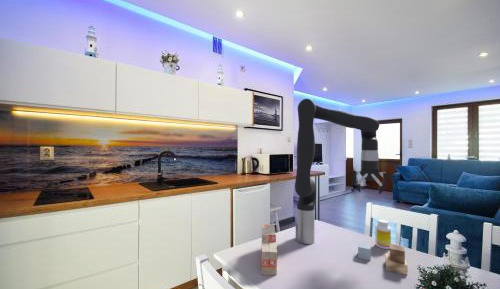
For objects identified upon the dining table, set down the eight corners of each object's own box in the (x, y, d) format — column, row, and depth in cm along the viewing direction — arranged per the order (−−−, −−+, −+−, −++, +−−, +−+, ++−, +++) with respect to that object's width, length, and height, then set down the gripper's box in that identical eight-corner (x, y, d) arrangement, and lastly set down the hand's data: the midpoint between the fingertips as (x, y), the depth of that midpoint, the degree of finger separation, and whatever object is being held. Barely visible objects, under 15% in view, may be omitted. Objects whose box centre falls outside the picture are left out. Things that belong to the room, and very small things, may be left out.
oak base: (386, 270, 89) (386, 260, 89) (385, 262, 95) (385, 253, 95) (407, 275, 85) (407, 265, 85) (404, 266, 91) (404, 257, 91)
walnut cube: (389, 260, 89) (390, 248, 89) (389, 255, 93) (389, 243, 93) (404, 264, 86) (404, 251, 86) (403, 258, 90) (403, 246, 90)
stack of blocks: (277, 275, 85) (277, 244, 85) (261, 275, 85) (261, 243, 85) (274, 249, 106) (274, 224, 106) (261, 248, 106) (261, 224, 106)
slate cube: (358, 257, 98) (358, 246, 98) (358, 253, 103) (358, 242, 103) (370, 260, 96) (370, 249, 96) (370, 255, 100) (370, 244, 100)
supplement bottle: (393, 250, 105) (393, 223, 105) (378, 248, 107) (378, 222, 107) (387, 244, 112) (387, 219, 112) (373, 242, 113) (373, 218, 113)
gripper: (352, 159, 106) (352, 192, 106) (387, 160, 99) (387, 196, 99) (353, 158, 112) (353, 189, 112) (386, 159, 105) (386, 192, 105)
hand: (369, 192), depth 105 cm, fingers open, 8 cm apart
